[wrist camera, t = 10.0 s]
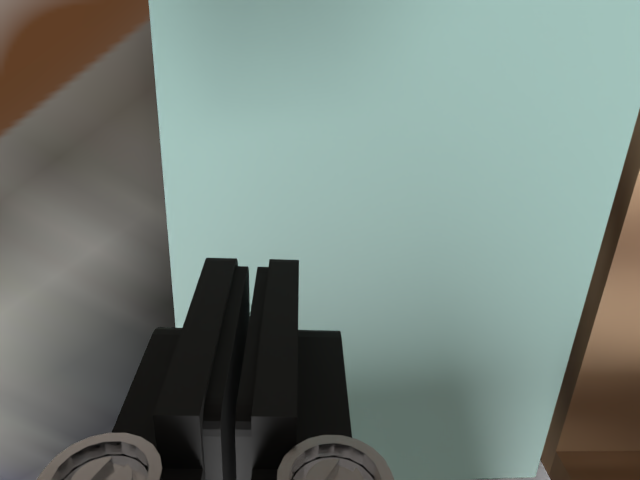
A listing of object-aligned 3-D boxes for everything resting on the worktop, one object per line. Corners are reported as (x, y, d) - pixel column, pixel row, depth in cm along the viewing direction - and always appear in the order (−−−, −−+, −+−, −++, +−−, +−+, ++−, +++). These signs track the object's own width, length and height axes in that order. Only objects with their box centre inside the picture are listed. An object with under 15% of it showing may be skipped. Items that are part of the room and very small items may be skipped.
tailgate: (659, -154, 13) (151, -190, 12) (719, -174, 12) (130, -217, 11) (513, 435, 21) (196, 444, 20) (535, 477, 20) (188, 489, 19)
